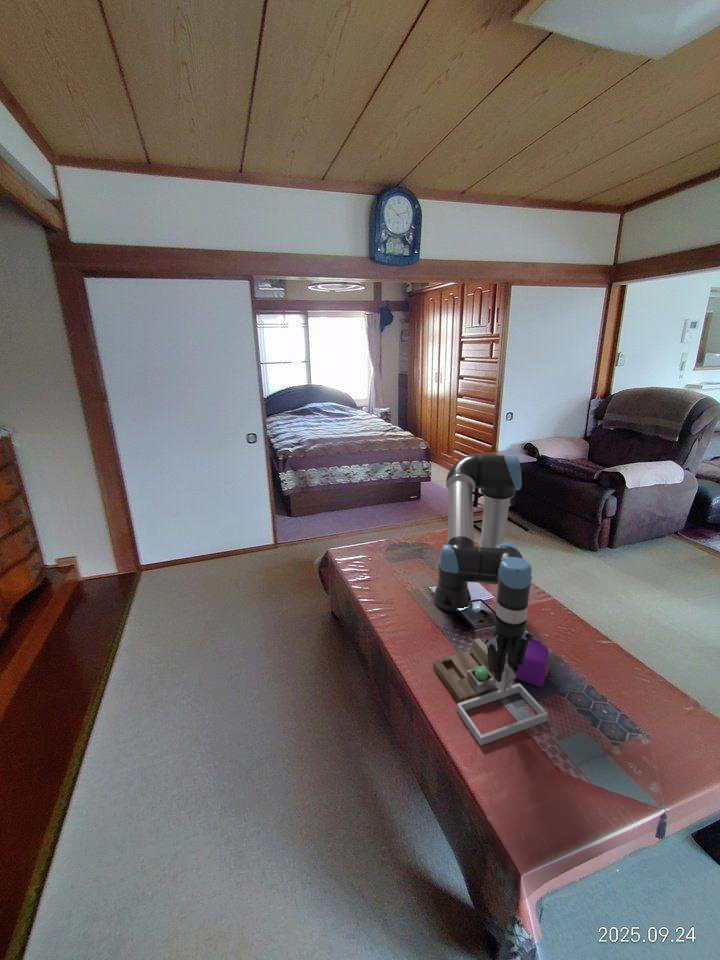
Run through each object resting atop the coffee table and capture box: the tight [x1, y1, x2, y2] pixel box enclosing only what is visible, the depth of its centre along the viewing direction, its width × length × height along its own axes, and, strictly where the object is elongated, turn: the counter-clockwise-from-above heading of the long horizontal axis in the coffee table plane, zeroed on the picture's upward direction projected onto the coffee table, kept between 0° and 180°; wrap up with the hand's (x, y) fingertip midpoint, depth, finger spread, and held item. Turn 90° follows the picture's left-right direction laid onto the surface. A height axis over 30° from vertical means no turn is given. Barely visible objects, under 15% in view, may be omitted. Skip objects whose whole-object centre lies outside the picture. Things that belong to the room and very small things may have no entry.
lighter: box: [493, 672, 516, 691], centre depth 111 cm, size 7×2×8 cm, turn 19°
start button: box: [475, 666, 488, 682], centre depth 122 cm, size 4×4×4 cm
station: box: [432, 638, 499, 704], centre depth 127 cm, size 18×16×8 cm
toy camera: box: [515, 638, 550, 687], centre depth 129 cm, size 11×14×10 cm
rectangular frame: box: [456, 683, 549, 747], centre depth 114 cm, size 22×12×2 cm, turn 109°
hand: (503, 687), depth 112 cm, fingers closed on lighter, 2 cm apart
